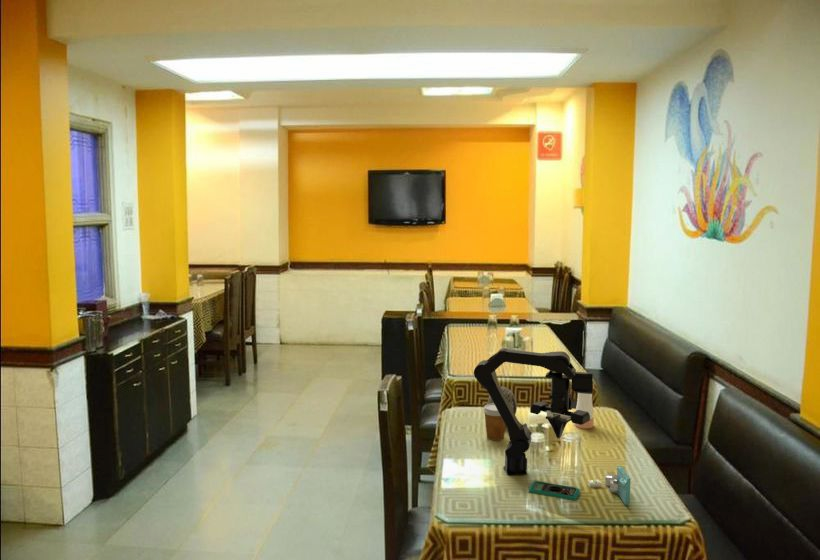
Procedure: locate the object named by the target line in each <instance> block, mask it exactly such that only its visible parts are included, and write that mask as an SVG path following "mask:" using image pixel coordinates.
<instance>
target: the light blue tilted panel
mask: <svg viewBox="0 0 820 560" xmlns="http://www.w3.org/2000/svg"><path fill="white" fill-rule="evenodd" d="M616 475H617V478H613V479H612V480H610V487H609V492H610V493H612V494H613V495H618V496H619V498H620V499H621V500H622V502H623V504H624V505H625V506H630V504H631V503H630V502H631V500H630V499H631V479H632V478H630V476H629V475H628V473H627V471H626V470H625V469H624V467H623V466H622V465H620V466H619V465H618V466H617V469H616Z"/></svg>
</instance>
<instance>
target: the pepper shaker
mask: <svg viewBox="0 0 820 560" xmlns="http://www.w3.org/2000/svg"><path fill="white" fill-rule="evenodd" d="M594 388H595V383H593V390H594ZM576 399H577V400H578V401H577V406H576V409H575V411H577V410H581V411H586V412H588V413H589V415H590V421H588V422H586V423H585V424H583V425H580V424H575V423H574V426H575V427H577V428H579V429H585V430H586V429H591V428H594V416H593V415H594V407H593V406H594V405H593V394H584V393H577V398H576Z"/></svg>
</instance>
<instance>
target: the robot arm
mask: <svg viewBox="0 0 820 560" xmlns="http://www.w3.org/2000/svg"><path fill="white" fill-rule="evenodd" d="M504 363H509V364H519V365H527V366H534V367H541V368H544V369H546V370H548V371H547V372H546V374H545V378H546V379H551V383H550V394H548V399H550V404H549V403H548V402H545V401H541V400H540V401H539V400H538V401H536V402H534V403H532V404H530V407H529V413H530V414H535V415H540V414H541V412H544V413H546V416H545V420H547V421H548V423H549V424H550V426H551V428H552V429H553V432H554V435H555V437H556V438H557V439H561V438H562V435H563V433H564V430H565V429H566V426H567V424H568V423H569V422H571V423H573V424H574V425H575V424H580V425H583V424H585V423H586V422H588V421H590V415H589V413H588V412H586V411H581V410H577V411H576V406H577V401H578V400H577V399H578V398H573V397H572V394H571V393H570V380H571V390H572V392H574V394H578V393H584V394H592V395H593V394H594V389H593V384H594V379H593V378H594V377H593V376H594V372H592V371H587V372H582V371H577V370H576V368H575V366H574V365H573V363H572V362H571V357H570V356H569V354H568V353H567V352H565V351H564V350H563V351H561V350H559V351H548V352H535V351H525V350H518V349H510V348H509V349H508V348H505V347H502V348H500V349H499V350H498V351H497V352H495V353H494V354H493V355H492V356H490V357H489V358H487V359H484V360H481V361H479V363H477V364H476V367H475V368H474V371H473V376H474V378H475V380H476V381H477V382H478V383H479V384H480V385H481V386H482V388H484V389H485V390H486V392H488V395H489V396H490V397H491V399H492V401H493V402H494V404H495V406H496V408H497V410H498V412H499V414H500V416H501V417H502V419H503V421H504V423H505V425H506V426H505V428H506V429H507V433H508V437H509V441H508V443H507V445H506V448H505V451H504V466H503V469H504V472H505V473H506V474H507V476H517V475H518V476H520V475H527V474H528V473H527V470H528V458H527V457H526V452H528V451H529V448H530V445H531V442H532V433H533V432H531V431H530V429H529V428H528V424H527V423H526V422H525V423H523V424H522V423H521V422H520V421H519V419H518V418H517V416H516V414H514V412H513V410H512V408H511V407H510V405H509V403H508V401H507V399H506V397H505V395H504V393H503V392H502V390H501V388H500V386H501V385H500V384H499V381H498V375H497V372H496V370H497V369H498V368H499V367H500V366H502V365H503V364H504ZM571 410H575V411H571Z"/></svg>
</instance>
